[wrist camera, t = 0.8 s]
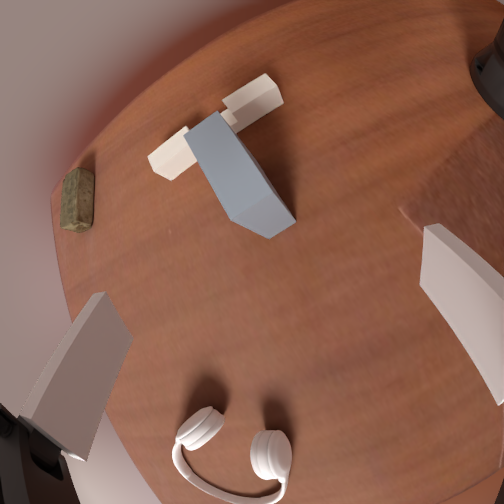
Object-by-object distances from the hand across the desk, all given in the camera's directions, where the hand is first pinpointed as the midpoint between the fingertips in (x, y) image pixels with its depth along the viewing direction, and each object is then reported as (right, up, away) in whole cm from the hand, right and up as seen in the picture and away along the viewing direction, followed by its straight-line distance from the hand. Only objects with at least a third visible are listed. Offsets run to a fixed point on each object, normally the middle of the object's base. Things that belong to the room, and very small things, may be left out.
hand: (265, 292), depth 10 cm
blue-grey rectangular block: (+1, +8, +25) cm, 26 cm away
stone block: (-32, +11, +35) cm, 49 cm away
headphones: (-3, -30, +24) cm, 38 cm away
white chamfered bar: (-5, +19, +27) cm, 33 cm away
